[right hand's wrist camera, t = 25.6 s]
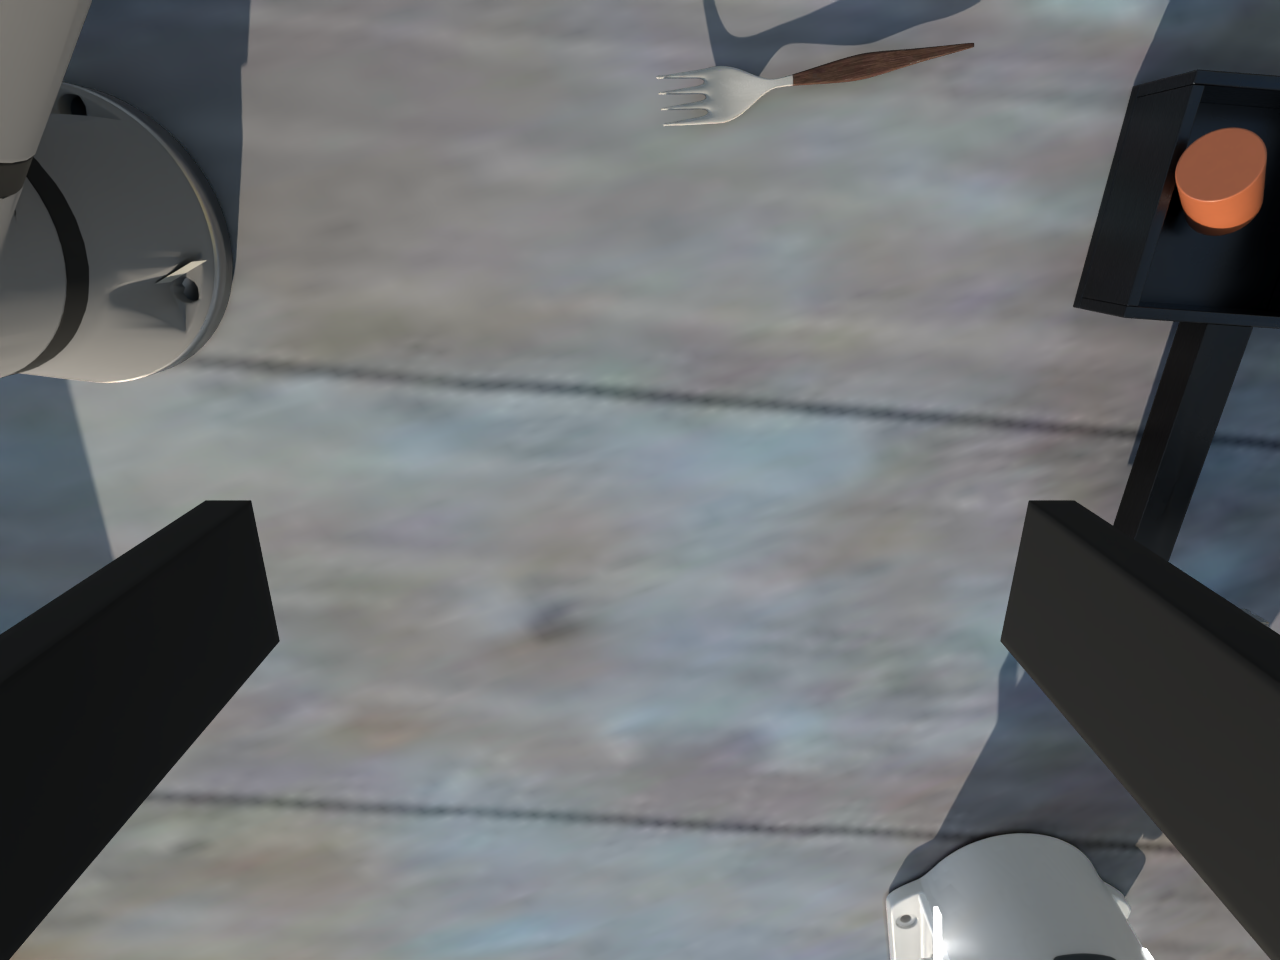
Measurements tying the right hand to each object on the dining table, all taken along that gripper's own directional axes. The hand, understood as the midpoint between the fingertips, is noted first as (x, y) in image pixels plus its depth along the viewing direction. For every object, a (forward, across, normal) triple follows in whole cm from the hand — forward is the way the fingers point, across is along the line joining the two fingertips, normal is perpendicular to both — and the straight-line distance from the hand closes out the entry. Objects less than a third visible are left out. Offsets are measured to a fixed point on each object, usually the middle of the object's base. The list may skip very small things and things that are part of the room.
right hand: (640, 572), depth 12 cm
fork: (+31, +9, +12) cm, 34 cm away
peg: (+29, +30, +6) cm, 43 cm away
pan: (+31, +30, -3) cm, 43 cm away
